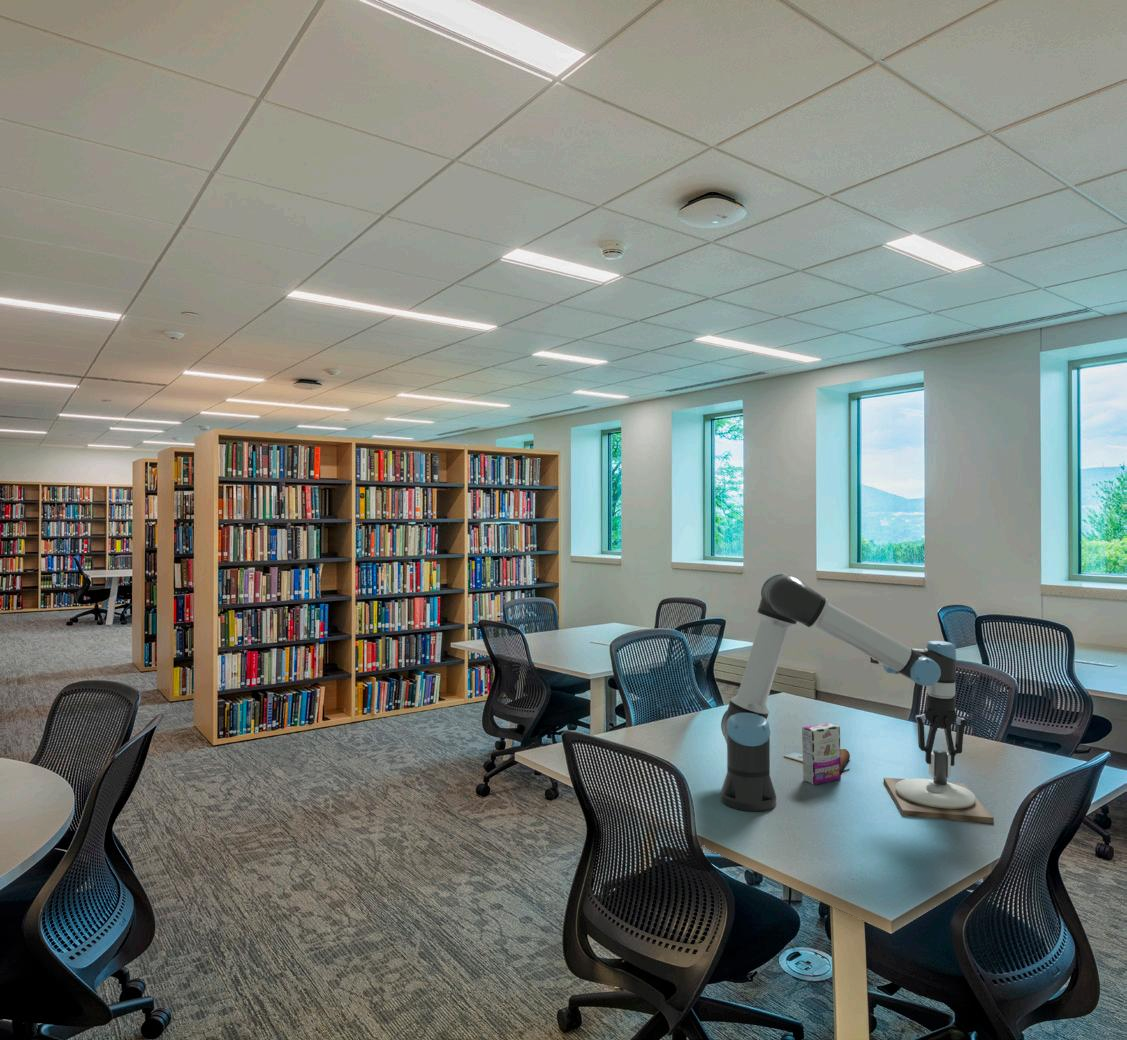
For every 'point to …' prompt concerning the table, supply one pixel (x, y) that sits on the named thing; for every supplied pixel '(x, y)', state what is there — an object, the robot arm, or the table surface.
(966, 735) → the table surface
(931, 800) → the dial
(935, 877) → the table surface
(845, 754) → the sunglasses case
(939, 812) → the dial base
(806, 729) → the candy bar box
